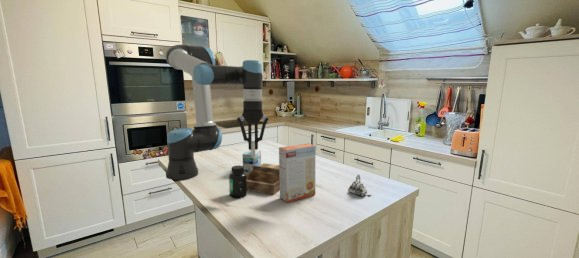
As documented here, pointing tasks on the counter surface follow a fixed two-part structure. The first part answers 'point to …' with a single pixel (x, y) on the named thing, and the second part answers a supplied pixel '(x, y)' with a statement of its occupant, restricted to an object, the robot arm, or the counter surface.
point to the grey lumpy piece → (358, 187)
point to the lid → (266, 169)
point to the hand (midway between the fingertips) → (253, 157)
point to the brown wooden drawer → (263, 182)
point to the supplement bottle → (238, 182)
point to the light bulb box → (251, 160)
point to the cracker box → (297, 172)
